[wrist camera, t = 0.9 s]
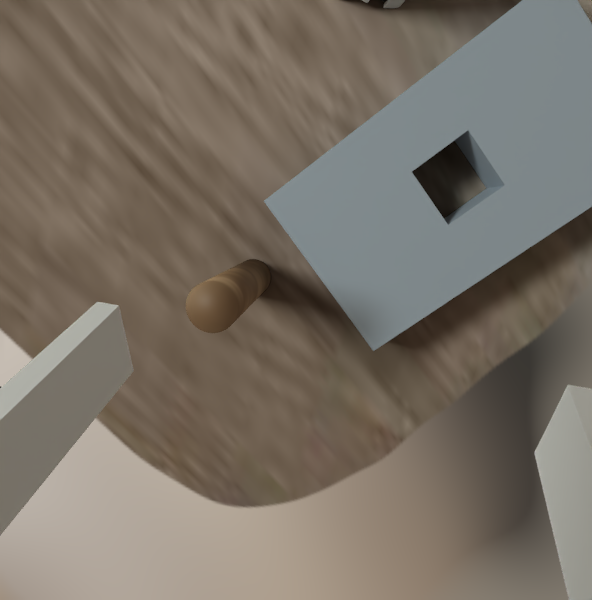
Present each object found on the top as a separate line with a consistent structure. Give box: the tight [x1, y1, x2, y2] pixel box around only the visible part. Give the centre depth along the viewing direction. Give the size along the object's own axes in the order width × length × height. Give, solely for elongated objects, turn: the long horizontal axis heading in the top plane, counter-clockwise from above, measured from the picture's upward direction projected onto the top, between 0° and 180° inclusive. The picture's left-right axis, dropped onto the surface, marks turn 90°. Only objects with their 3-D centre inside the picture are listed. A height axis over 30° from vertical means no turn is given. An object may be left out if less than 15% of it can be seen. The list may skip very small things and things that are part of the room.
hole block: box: [264, 0, 592, 351], centre depth 34 cm, size 24×14×4 cm, turn 127°
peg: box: [186, 259, 271, 333], centre depth 32 cm, size 3×3×13 cm
